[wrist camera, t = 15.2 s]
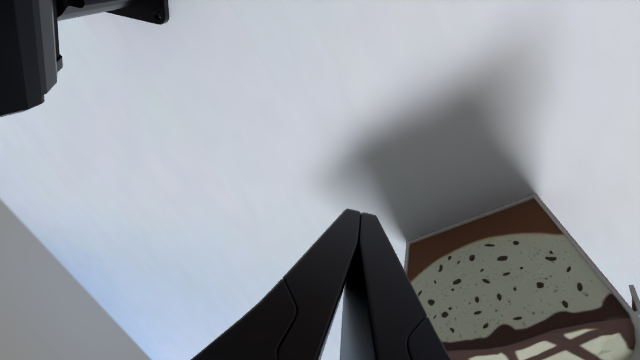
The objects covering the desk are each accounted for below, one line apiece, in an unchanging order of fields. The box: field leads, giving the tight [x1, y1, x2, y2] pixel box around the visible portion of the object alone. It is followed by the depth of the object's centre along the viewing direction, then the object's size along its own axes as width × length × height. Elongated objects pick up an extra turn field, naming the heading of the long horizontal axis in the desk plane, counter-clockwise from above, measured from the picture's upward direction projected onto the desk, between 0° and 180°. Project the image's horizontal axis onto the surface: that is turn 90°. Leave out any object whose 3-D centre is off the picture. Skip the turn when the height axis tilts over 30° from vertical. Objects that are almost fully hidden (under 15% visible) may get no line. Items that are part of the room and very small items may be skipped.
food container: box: [404, 194, 640, 360], centre depth 21 cm, size 12×6×10 cm, turn 127°
